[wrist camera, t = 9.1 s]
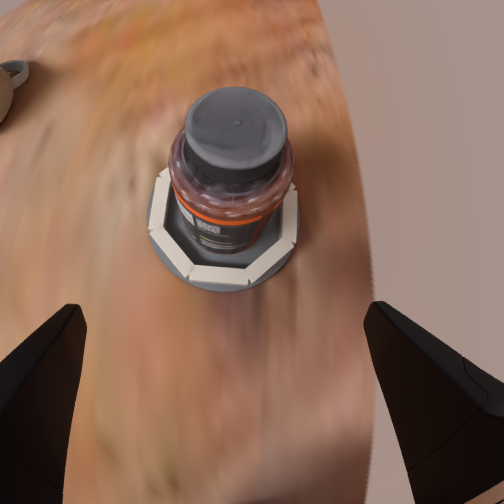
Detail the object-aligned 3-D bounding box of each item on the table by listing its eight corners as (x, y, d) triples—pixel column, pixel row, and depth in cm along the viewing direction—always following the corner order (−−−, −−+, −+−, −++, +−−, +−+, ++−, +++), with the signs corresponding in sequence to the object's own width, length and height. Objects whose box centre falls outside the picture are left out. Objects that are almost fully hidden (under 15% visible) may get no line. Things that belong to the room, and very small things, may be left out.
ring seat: (295, 297, 22) (301, 296, 21) (139, 284, 21) (134, 282, 19) (298, 158, 24) (304, 148, 23) (161, 144, 23) (159, 134, 22)
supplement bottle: (258, 172, 23) (295, 67, 12) (274, 249, 22) (333, 185, 11) (178, 183, 22) (157, 76, 11) (188, 263, 21) (165, 205, 10)
